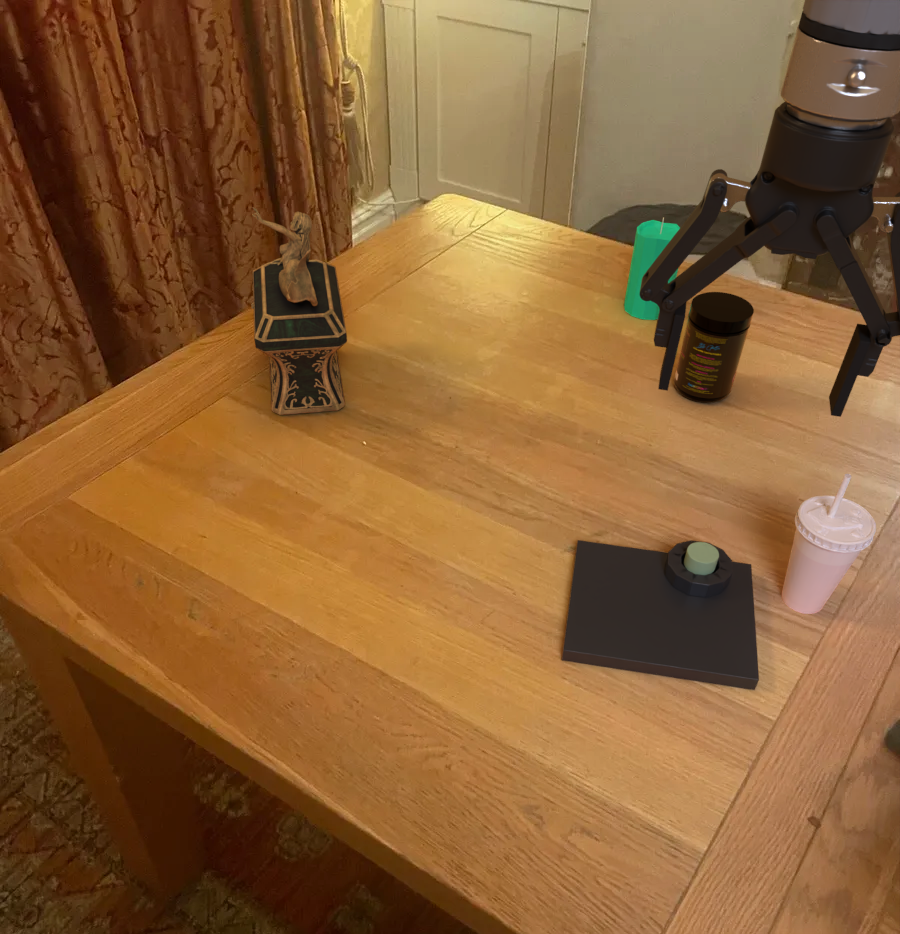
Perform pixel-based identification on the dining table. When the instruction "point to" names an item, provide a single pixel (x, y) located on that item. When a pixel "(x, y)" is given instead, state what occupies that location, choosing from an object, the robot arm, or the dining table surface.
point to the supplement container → (712, 346)
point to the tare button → (701, 558)
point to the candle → (646, 265)
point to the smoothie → (824, 548)
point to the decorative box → (299, 324)
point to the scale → (662, 615)
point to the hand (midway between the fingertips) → (748, 394)
